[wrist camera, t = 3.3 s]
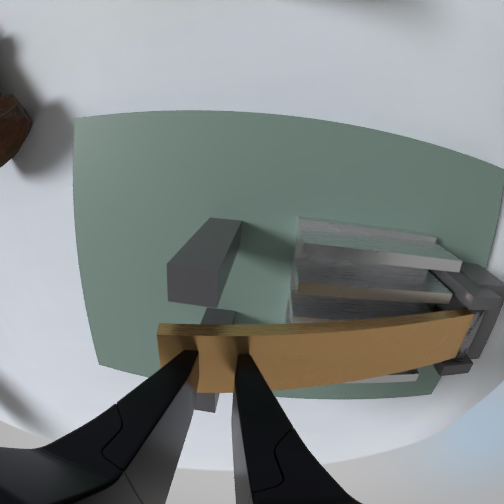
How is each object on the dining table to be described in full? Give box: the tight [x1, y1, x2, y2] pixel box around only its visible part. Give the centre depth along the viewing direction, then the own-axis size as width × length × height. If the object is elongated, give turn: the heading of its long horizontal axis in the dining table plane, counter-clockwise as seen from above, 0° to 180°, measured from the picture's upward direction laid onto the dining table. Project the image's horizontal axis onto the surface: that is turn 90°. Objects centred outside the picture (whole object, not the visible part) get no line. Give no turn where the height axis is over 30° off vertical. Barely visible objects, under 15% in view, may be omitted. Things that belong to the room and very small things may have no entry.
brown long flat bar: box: [157, 307, 485, 393], centre depth 10 cm, size 14×3×1 cm, turn 85°
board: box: [73, 110, 504, 399], centre depth 15 cm, size 24×16×1 cm, turn 85°
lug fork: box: [167, 218, 242, 413], centre depth 12 cm, size 2×6×6 cm, turn 175°
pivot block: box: [428, 262, 504, 376], centre depth 12 cm, size 4×4×4 cm
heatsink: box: [283, 216, 462, 383], centre depth 13 cm, size 7×7×3 cm
